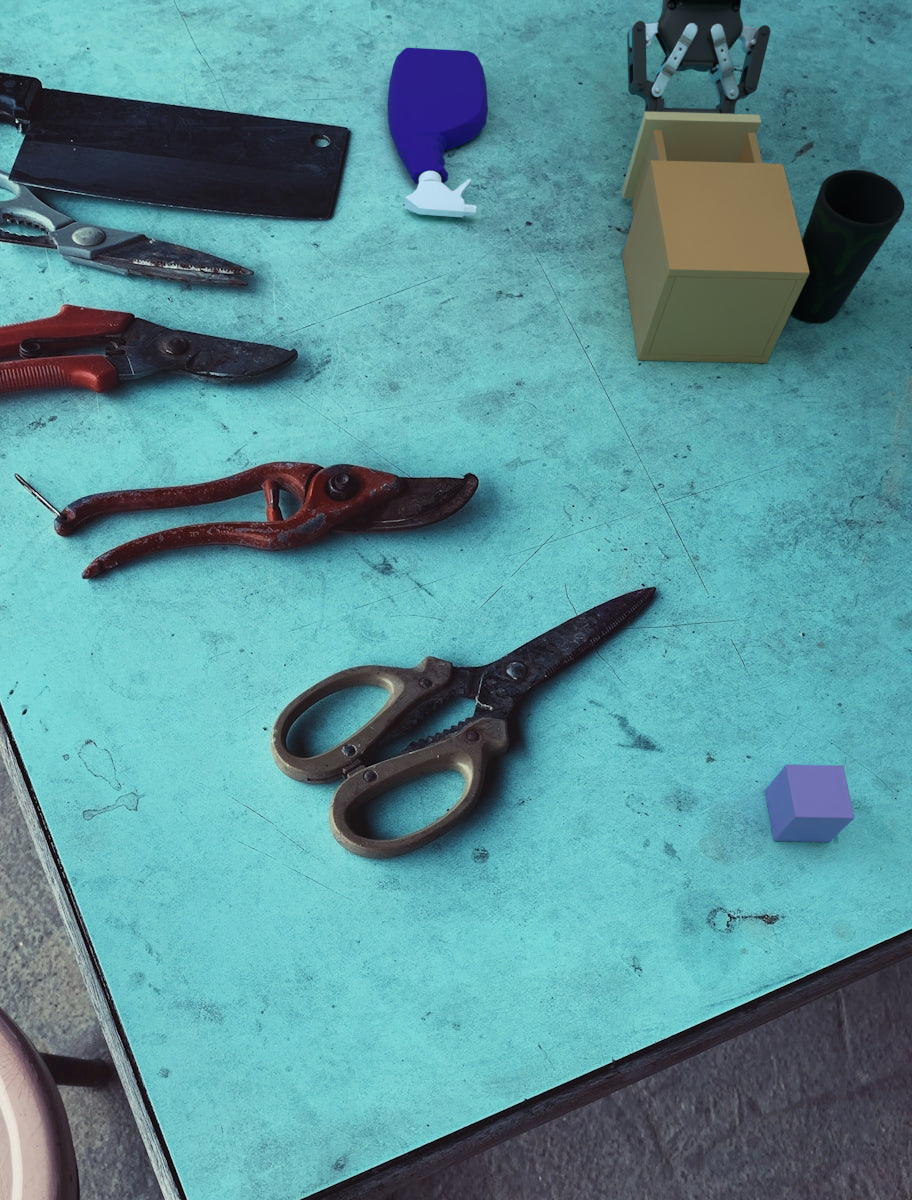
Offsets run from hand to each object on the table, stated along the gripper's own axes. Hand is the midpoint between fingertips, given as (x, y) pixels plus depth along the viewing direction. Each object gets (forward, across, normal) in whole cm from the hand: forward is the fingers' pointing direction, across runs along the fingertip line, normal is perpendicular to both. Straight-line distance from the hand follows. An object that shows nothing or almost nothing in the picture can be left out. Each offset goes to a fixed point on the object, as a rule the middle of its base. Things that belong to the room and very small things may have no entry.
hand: (686, 142), depth 122 cm
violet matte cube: (+56, +1, -48) cm, 74 cm away
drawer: (+8, 0, -1) cm, 8 cm away
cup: (+16, +12, -8) cm, 21 cm away
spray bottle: (-1, -25, +8) cm, 26 cm away
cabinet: (+16, 0, -8) cm, 18 cm away
